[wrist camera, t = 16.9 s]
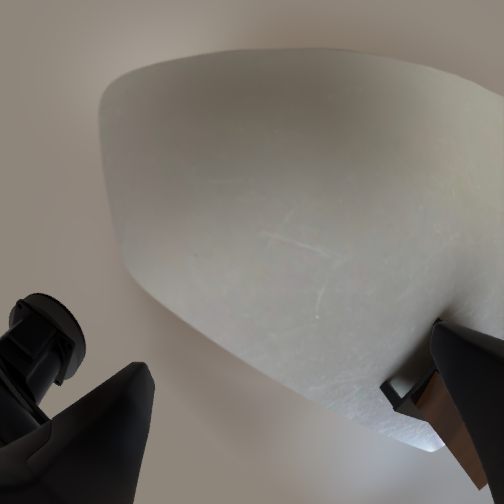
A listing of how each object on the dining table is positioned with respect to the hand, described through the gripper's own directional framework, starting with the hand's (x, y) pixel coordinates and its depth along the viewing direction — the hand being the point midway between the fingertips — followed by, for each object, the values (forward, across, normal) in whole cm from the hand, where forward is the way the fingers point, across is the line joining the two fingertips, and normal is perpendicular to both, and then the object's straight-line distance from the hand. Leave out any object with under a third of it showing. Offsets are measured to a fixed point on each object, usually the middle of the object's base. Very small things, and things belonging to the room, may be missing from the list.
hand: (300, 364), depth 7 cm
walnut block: (+10, -16, +16) cm, 25 cm away
